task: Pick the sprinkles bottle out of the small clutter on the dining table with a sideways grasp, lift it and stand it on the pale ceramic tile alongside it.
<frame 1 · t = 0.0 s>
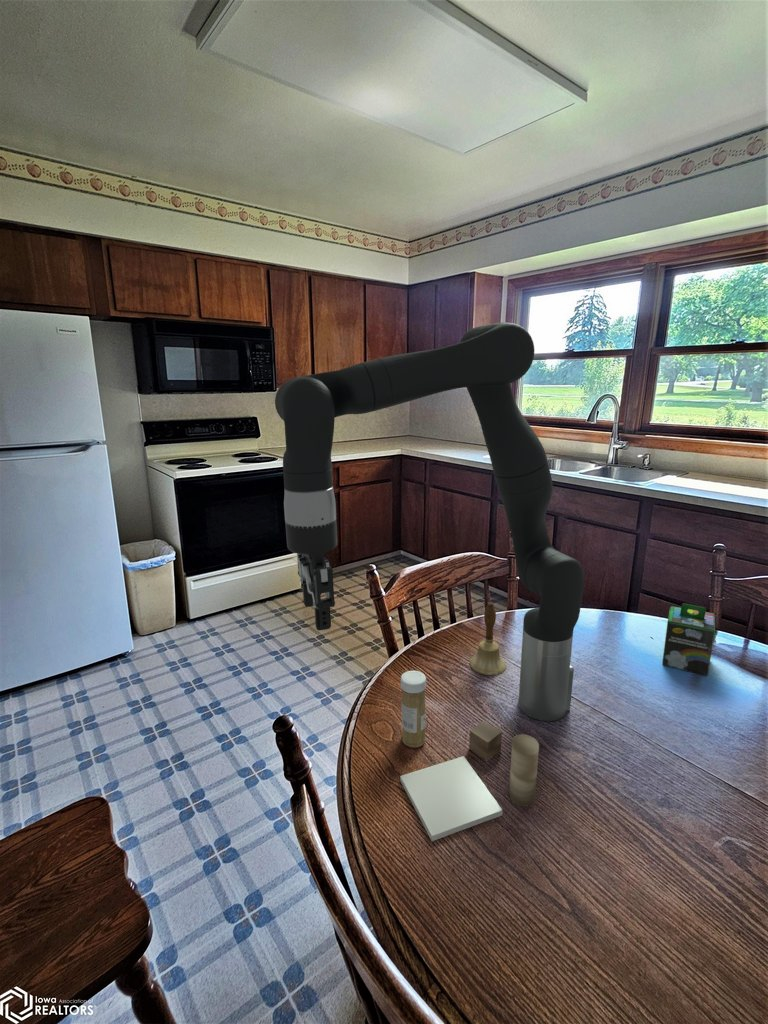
hand: (316, 616, 78), 29 cm above the table, tool pointing down, fingers open, 8 cm apart
chalk box: (684, 662, 115), on the table
beech dowel: (521, 795, 80), on the table
sprinkles bottle: (413, 740, 92), on the table
hand bell: (487, 666, 115), on the table
walnut block: (485, 749, 90), on the table
ceramic tile: (449, 797, 80), on the table
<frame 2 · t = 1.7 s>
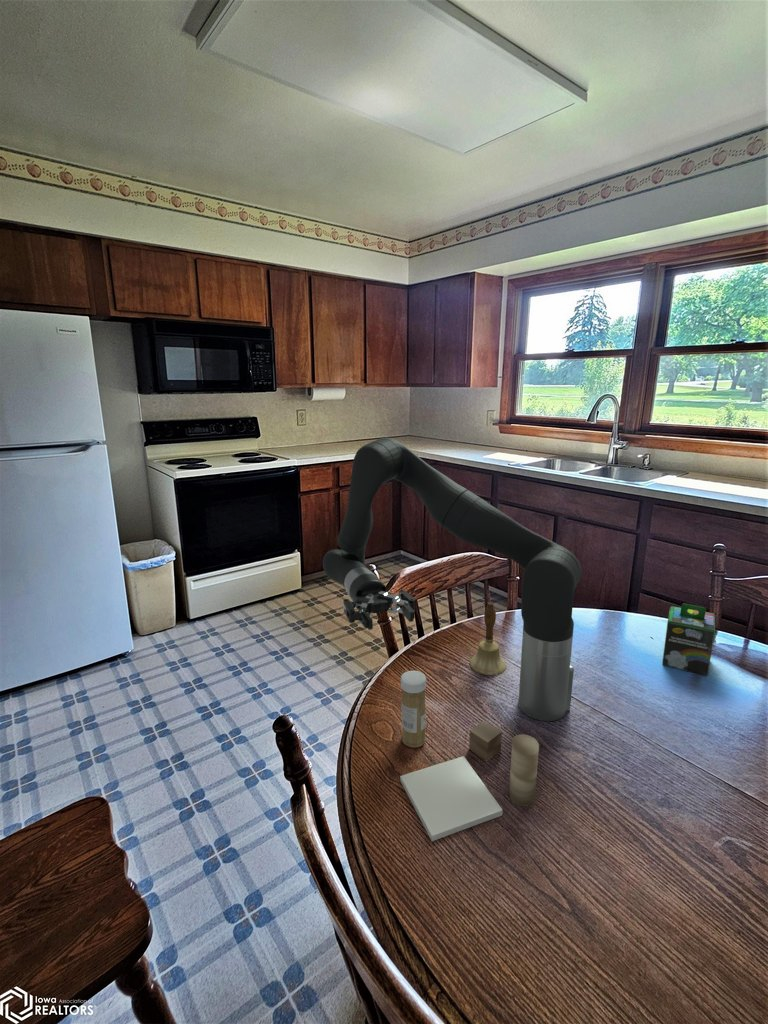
hand: (391, 621, 96), 19 cm above the table, tool horizontal, fingers open, 8 cm apart
nothing on the table moved.
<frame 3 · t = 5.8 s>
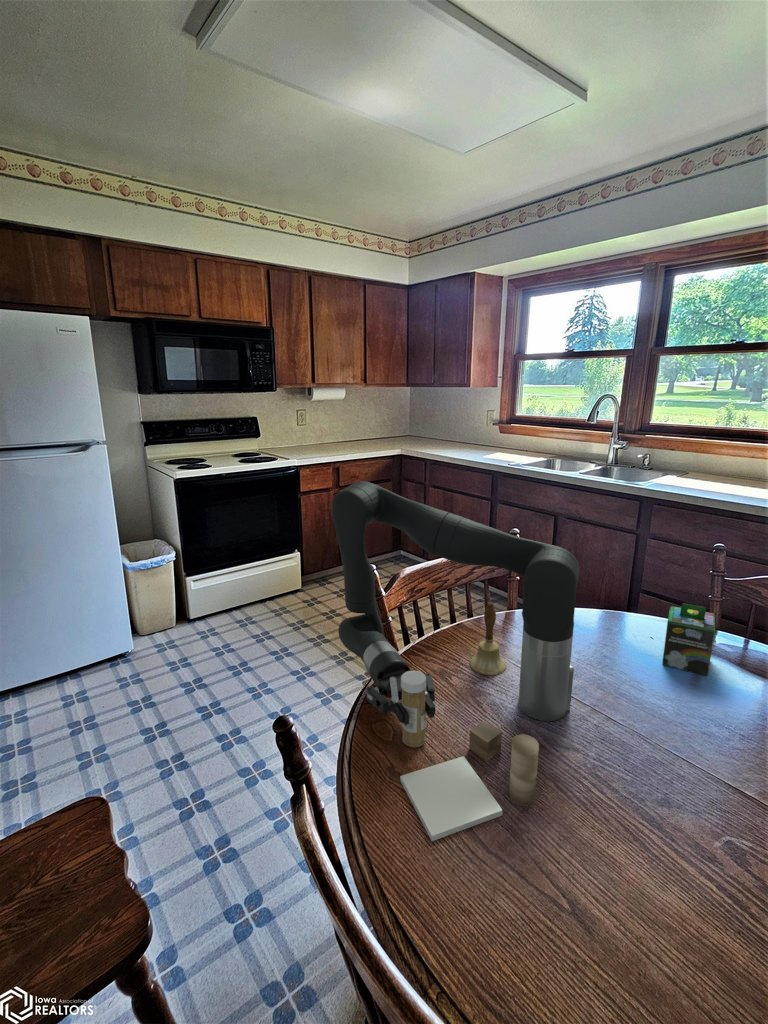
hand: (420, 716, 88), 7 cm above the table, tool horizontal, fingers closed on sprinkles bottle, 4 cm apart
sprinkles bottle: (413, 740, 92), on the table, touching gripper
everything else where it was.
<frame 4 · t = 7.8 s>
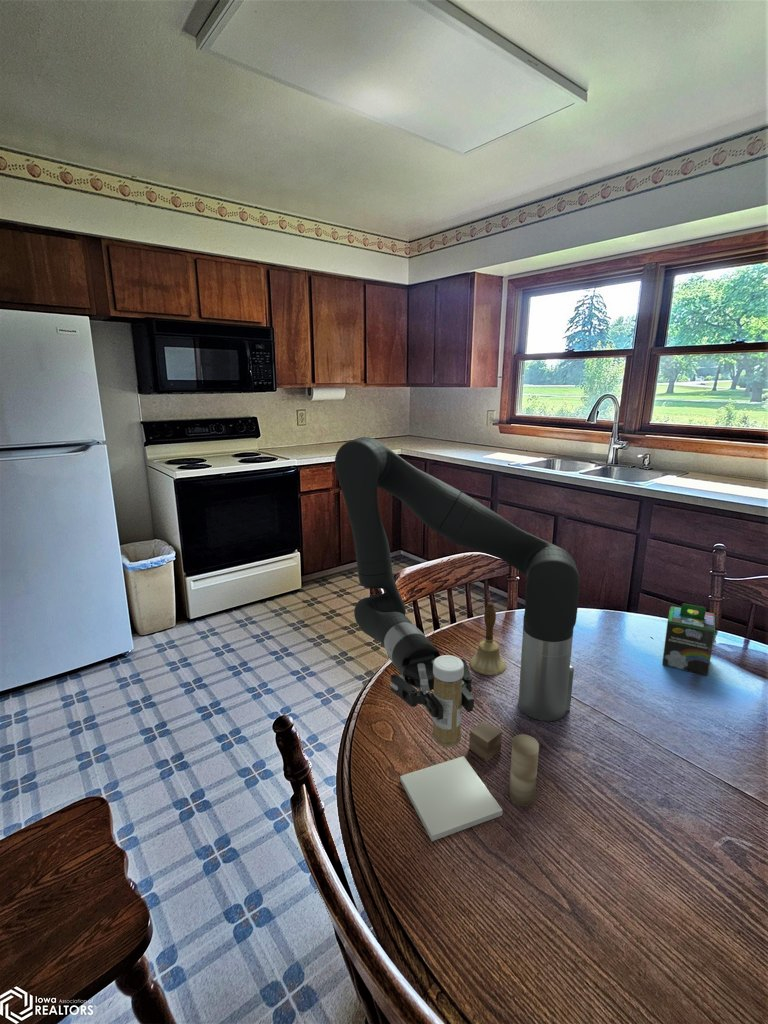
hand: (456, 710, 73), 18 cm above the table, tool horizontal, fingers closed on sprinkles bottle, 4 cm apart
sprinkles bottle: (446, 738, 77), point 11 cm above the table, touching gripper
everything else where it was.
when the fingers open (9 cm above the table, at t = 9.9 s): sprinkles bottle drops 1 cm, resting on ceramic tile.
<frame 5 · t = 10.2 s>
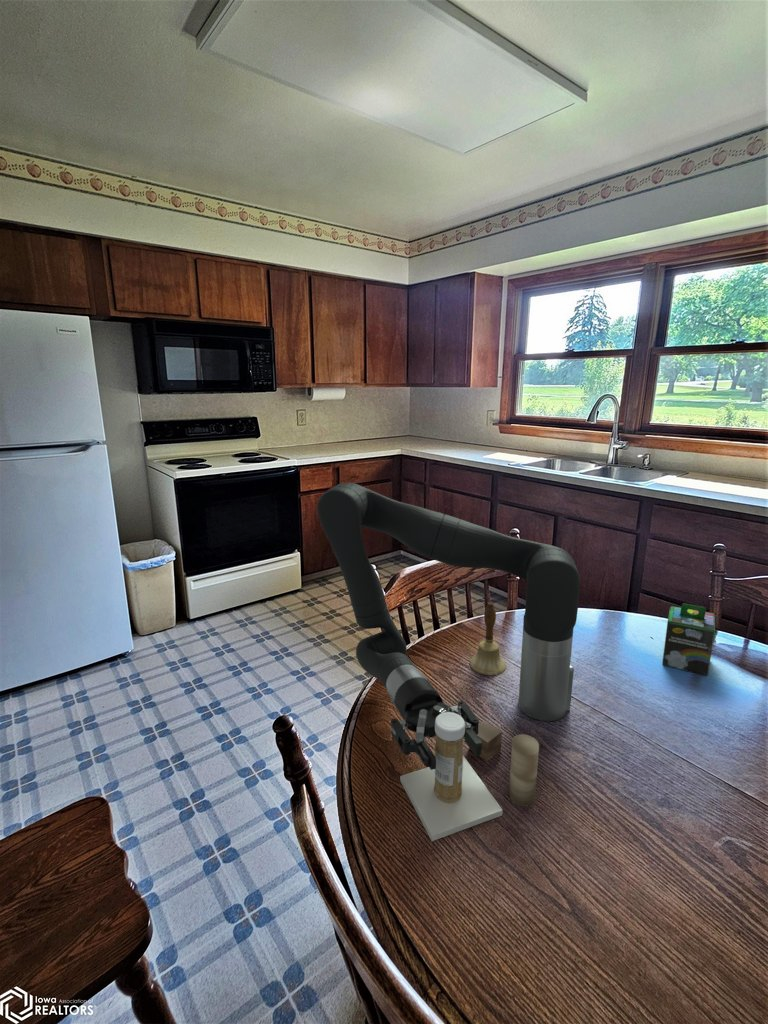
hand: (456, 757, 75), 10 cm above the table, tool horizontal, fingers open, 7 cm apart
sprinkles bottle: (447, 792, 79), point 1 cm above the table, touching ceramic tile
everything else where it was.
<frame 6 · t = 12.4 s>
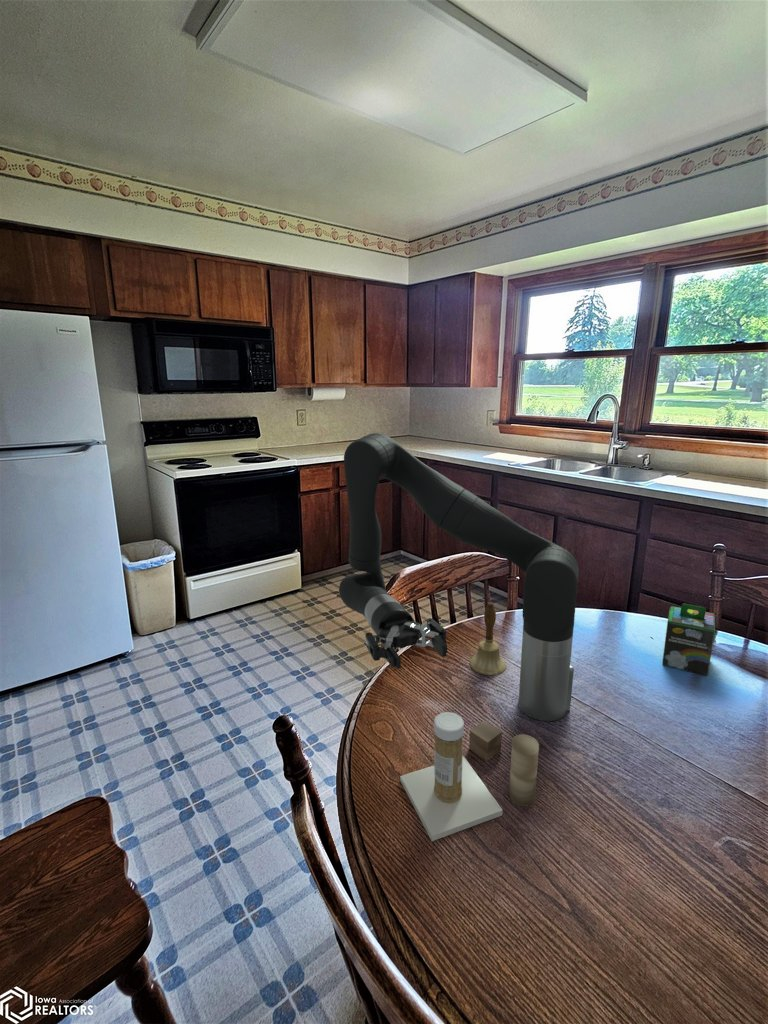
hand: (422, 657, 84), 19 cm above the table, tool horizontal, fingers open, 8 cm apart
nothing on the table moved.
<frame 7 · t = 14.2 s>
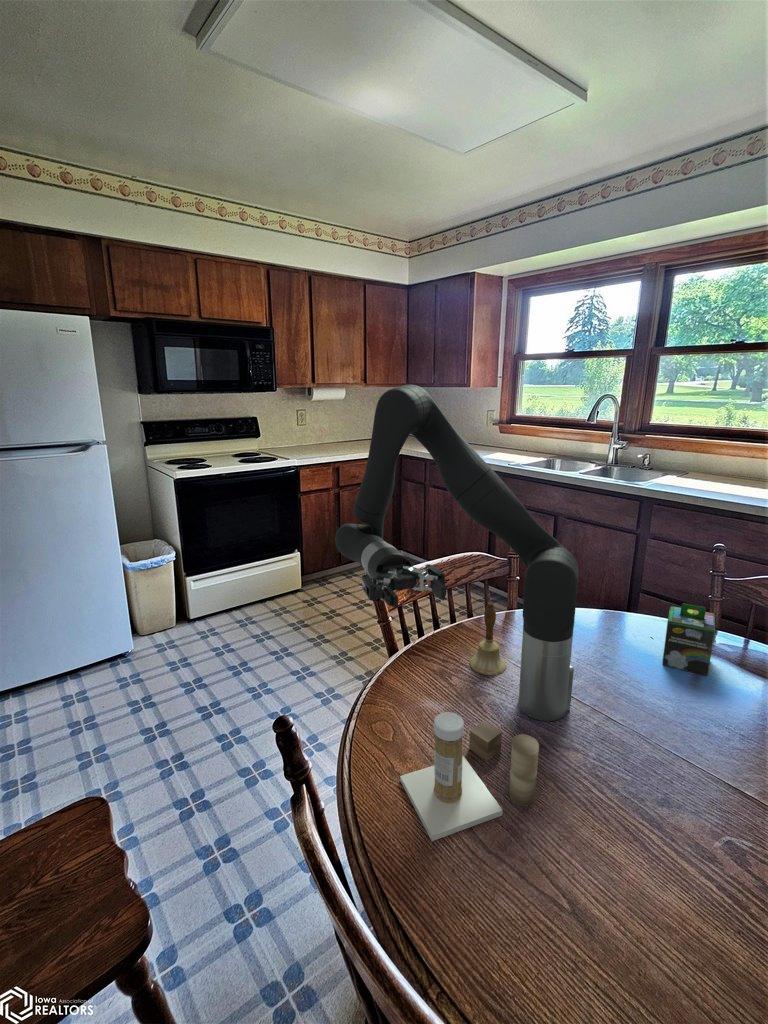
hand: (420, 598, 82), 30 cm above the table, tool horizontal, fingers open, 8 cm apart
nothing on the table moved.
at the end: sprinkles bottle inside the target area on the ceramic tile (0.2 cm from its centre), point 0.8 cm above the ceramic tile's base; sprinkles bottle tilted 0°; the gripper is holding nothing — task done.
